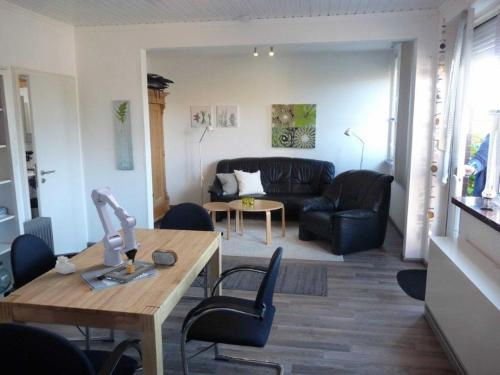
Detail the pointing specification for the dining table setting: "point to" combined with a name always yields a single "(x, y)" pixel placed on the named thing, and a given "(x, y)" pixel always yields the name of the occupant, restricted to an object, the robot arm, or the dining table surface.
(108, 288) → the dining table surface
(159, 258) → the tin
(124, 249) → the robot arm
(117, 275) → the fader board
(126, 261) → the pale fader
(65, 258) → the white irregular lump
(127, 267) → the block
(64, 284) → the dining table surface
